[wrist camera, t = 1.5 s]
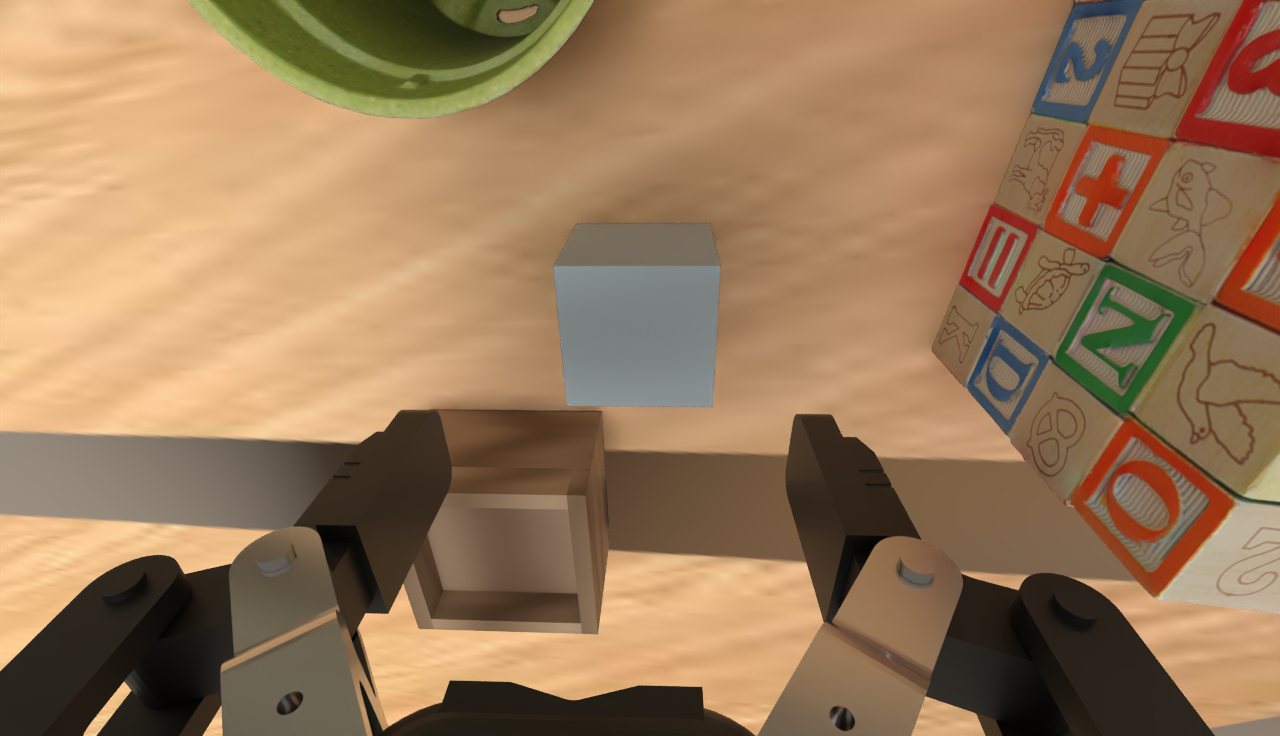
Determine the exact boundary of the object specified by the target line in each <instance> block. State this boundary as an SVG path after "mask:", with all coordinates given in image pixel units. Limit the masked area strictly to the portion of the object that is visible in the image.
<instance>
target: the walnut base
mask: <svg viewBox="0 0 1280 736" xmlns="http://www.w3.org/2000/svg"><path fill="white" fill-rule="evenodd" d="M436 411H437V412H438V413H439V415H440V417H441V421H442V425H443V430H444V434H445V438H446V443H447V447H448V451H449V456H450V460H451V465H452V478H451V484H450V488H449V491H448V493H447V495H446V497H445V499H444V501H443V503H442V505H441V507H440V509H439V511H438V513H437V515H436V517H435V519H434V521H433V523H432V525H431V527H430V530H429V532H428V534H427V536H426V538H425V540H424V542H423V544H422V546H421V548H420V550H419V552H418V554H417V556H416V558H415V560H414V562H413V564H412V566H411V568H410V570H409V572H408V574H407V576H406V578H405V580H404V582H403V583H404V586H405V589H406V592H407V595H408V598H409V601H410V604H411V607H412V610H413V613H414V616H415V619H416V622H417V625H418V628H419V629H442V630H475V631H508V632H541V633H574V634H598V629H599V621H600V613H601V605H602V597H603V589H604V581H605V573H606V565H607V557H608V549H609V540H610V535H609V519H608V504H607V489H606V473H605V459H604V441H603V425H602V412H589V411H490V410H436Z"/></svg>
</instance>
